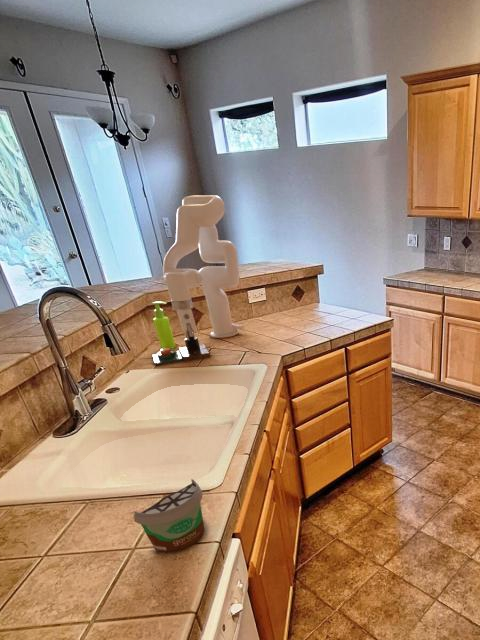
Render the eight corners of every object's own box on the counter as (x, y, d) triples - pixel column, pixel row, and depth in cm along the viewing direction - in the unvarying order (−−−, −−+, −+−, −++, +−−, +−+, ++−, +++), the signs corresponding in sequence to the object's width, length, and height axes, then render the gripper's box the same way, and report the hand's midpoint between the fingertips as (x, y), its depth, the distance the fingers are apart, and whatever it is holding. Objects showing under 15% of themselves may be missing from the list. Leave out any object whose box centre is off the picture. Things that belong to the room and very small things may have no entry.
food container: (167, 568, 76) (151, 524, 71) (147, 555, 79) (131, 512, 74) (225, 527, 85) (214, 487, 81) (205, 517, 88) (193, 477, 84)
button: (170, 351, 178) (169, 347, 177) (171, 353, 175) (170, 349, 175) (160, 353, 177) (159, 349, 176) (161, 355, 174) (160, 351, 173)
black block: (199, 348, 183) (196, 336, 180) (200, 349, 181) (197, 337, 179) (187, 350, 181) (184, 338, 178) (187, 351, 179) (184, 339, 177)
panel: (204, 348, 190) (203, 343, 188) (210, 357, 179) (209, 352, 178) (180, 352, 185) (178, 347, 184) (184, 361, 174) (183, 356, 173)
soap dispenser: (174, 349, 189) (161, 303, 180) (158, 349, 189) (145, 303, 180) (180, 345, 194) (168, 300, 185) (165, 345, 195) (153, 300, 185)
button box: (179, 353, 184) (177, 346, 183) (182, 361, 175) (180, 354, 173) (153, 357, 179) (151, 350, 178) (155, 365, 170) (153, 358, 169)
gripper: (195, 306, 168) (206, 351, 176) (189, 299, 180) (199, 342, 188) (174, 309, 164) (186, 355, 173) (170, 302, 176) (181, 345, 185)
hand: (193, 348), depth 181 cm, fingers closed on black block, 2 cm apart
